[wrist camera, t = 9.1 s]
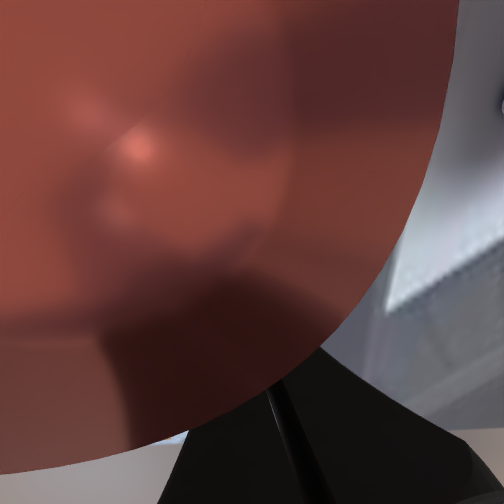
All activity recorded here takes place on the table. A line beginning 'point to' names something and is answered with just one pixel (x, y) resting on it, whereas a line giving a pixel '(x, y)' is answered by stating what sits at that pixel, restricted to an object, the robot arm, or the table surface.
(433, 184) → the table surface
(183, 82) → the pin
